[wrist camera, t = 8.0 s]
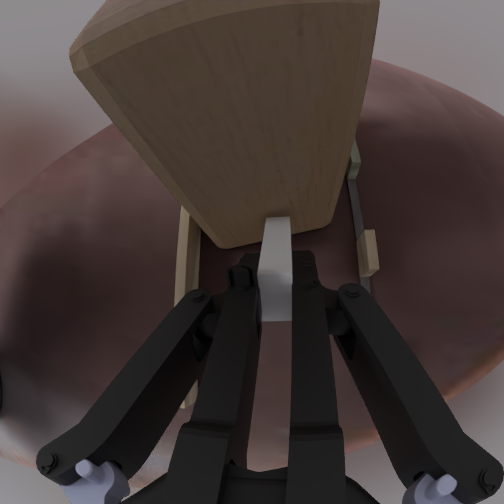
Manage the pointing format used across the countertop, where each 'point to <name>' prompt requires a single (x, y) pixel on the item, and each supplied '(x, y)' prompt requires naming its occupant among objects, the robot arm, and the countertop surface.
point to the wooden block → (235, 101)
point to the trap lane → (192, 233)
